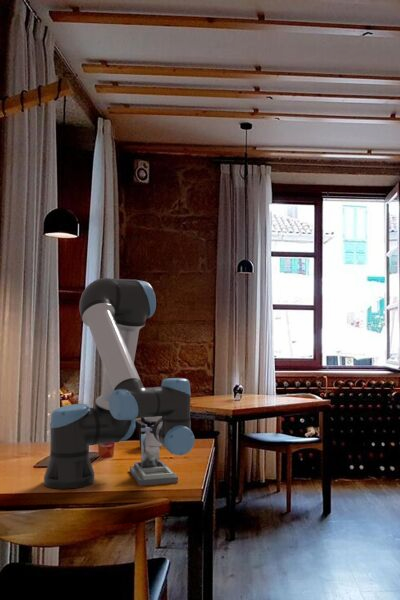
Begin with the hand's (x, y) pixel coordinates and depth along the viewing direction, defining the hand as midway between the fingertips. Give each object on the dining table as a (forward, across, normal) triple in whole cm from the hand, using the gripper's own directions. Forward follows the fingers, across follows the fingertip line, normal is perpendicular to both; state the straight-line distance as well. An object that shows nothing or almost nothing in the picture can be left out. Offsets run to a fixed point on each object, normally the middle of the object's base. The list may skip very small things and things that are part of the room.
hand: (152, 420), depth 172 cm
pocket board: (0, 0, -18) cm, 18 cm away
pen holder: (+46, +8, -18) cm, 50 cm away
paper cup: (+35, -11, -18) cm, 41 cm away
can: (-5, 0, -7) cm, 9 cm away
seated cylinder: (+4, 0, -16) cm, 17 cm away
